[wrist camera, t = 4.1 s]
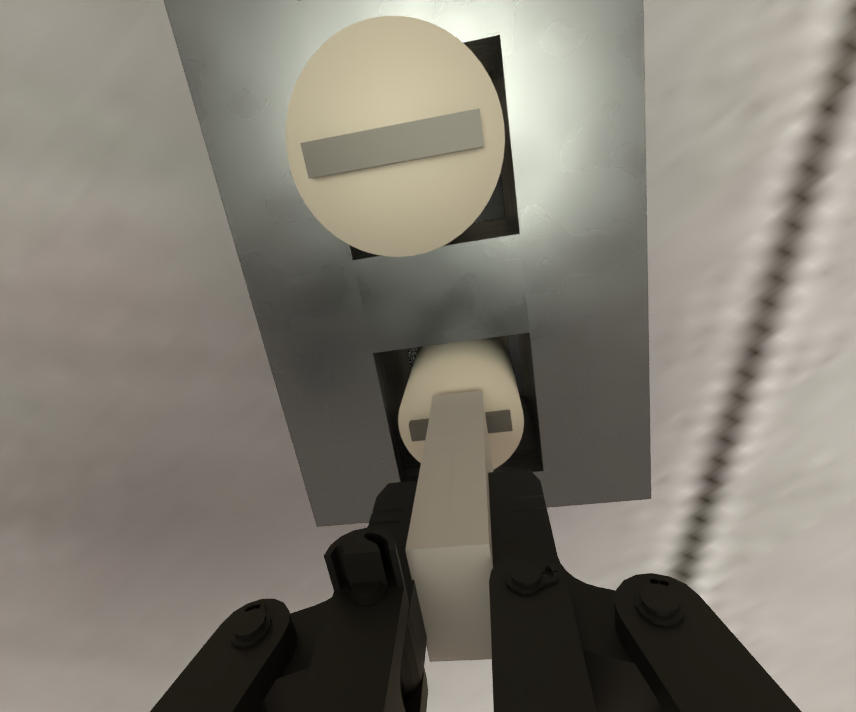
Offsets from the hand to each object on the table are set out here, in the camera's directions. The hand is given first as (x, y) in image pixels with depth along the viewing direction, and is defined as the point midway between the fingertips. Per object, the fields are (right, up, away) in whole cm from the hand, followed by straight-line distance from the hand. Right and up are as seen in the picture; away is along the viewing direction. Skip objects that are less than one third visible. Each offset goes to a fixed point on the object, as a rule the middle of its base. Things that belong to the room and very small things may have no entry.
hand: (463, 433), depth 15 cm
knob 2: (0, +2, +7) cm, 7 cm away
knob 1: (-1, +8, 0) cm, 9 cm away
